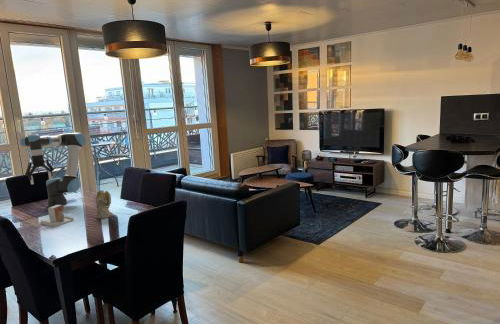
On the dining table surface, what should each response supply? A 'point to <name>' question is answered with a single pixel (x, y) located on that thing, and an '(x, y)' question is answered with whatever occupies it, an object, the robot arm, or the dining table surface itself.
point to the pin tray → (60, 222)
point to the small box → (55, 213)
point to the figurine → (103, 204)
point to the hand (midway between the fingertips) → (41, 182)
